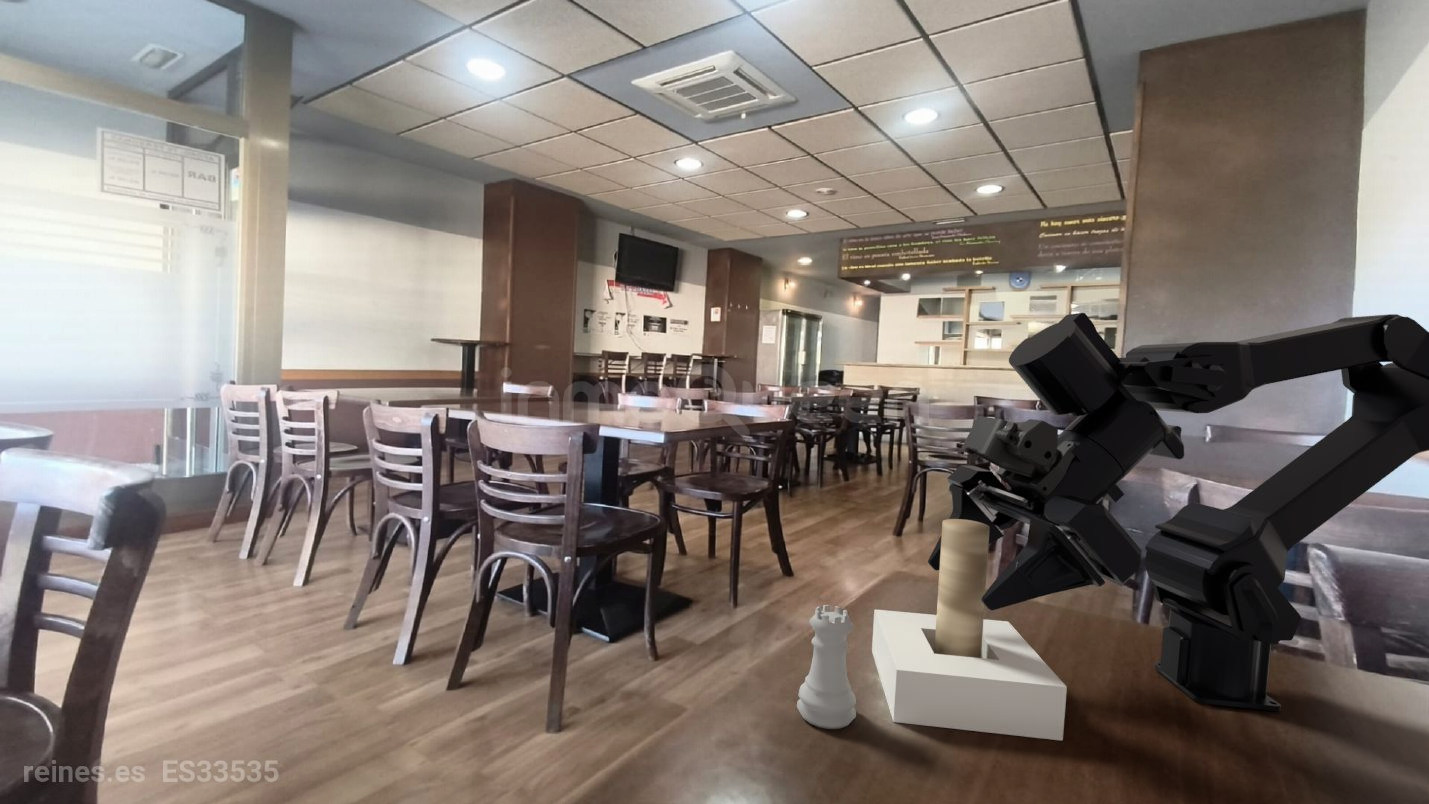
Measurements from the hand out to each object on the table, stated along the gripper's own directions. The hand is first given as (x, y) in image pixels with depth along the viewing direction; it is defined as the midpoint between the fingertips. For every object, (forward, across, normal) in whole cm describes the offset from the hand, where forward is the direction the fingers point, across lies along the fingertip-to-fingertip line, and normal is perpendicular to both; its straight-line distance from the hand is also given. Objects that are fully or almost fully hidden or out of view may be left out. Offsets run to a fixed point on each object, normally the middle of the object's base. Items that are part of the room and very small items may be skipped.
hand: (956, 584), depth 51 cm
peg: (+5, 0, +6) cm, 8 cm away
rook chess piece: (+15, +4, -2) cm, 15 cm away
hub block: (+6, 0, +7) cm, 9 cm away
